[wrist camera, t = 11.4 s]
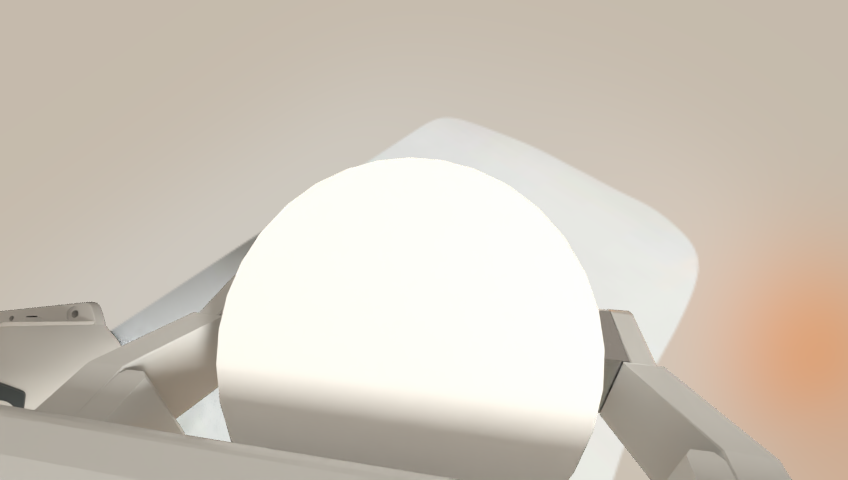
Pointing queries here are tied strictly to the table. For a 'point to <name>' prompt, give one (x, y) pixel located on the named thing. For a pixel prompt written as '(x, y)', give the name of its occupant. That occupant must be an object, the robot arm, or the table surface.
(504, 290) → the cylindrical container
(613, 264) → the table surface
